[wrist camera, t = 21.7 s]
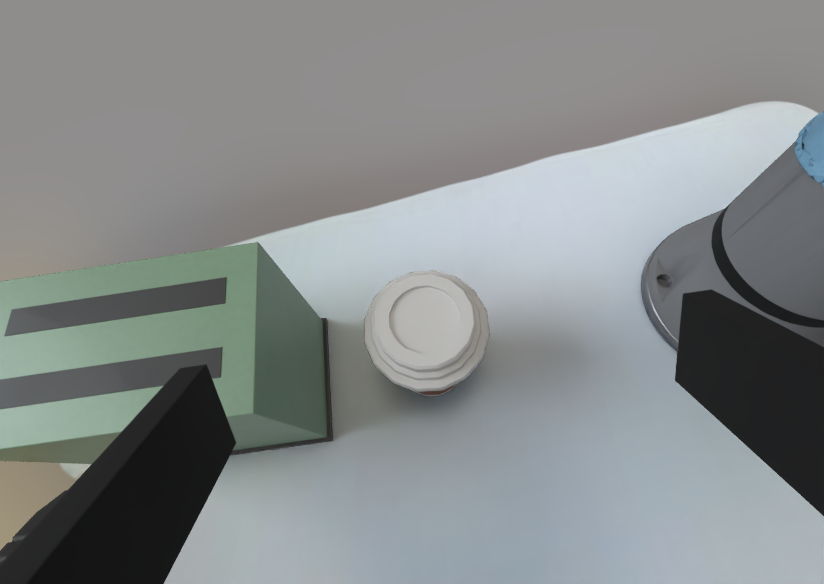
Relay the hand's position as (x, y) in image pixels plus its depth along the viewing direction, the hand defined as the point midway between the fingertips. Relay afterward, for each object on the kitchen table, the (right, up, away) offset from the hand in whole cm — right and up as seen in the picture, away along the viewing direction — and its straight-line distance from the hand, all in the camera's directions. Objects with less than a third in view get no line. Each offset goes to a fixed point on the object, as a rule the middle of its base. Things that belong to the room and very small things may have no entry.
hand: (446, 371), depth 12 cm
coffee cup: (+1, -4, +28) cm, 28 cm away
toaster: (-18, -7, +28) cm, 34 cm away
